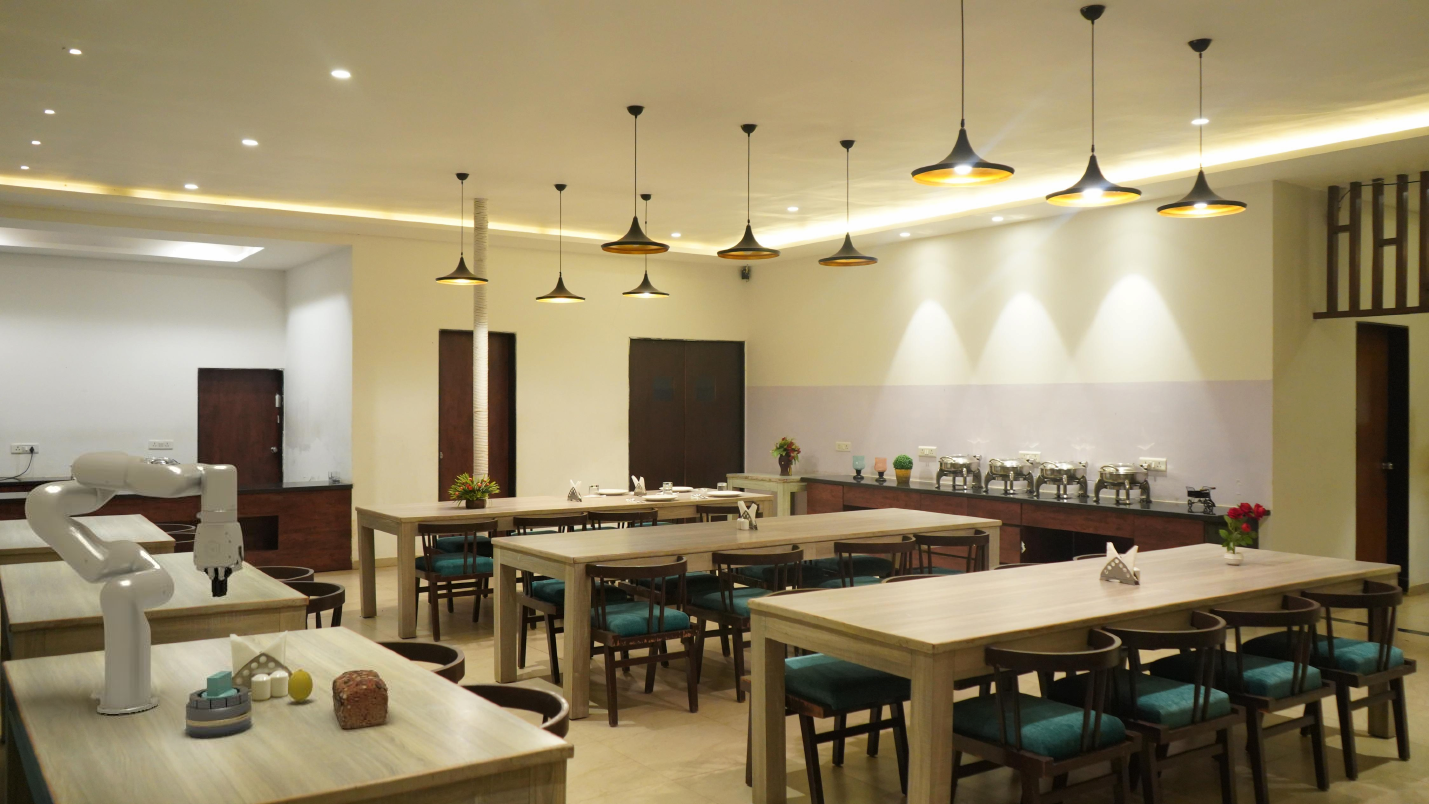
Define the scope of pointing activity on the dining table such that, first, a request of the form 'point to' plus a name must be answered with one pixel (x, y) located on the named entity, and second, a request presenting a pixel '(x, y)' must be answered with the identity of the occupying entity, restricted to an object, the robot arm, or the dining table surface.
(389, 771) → the dining table surface
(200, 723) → the lens barrel
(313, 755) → the dining table surface
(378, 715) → the bread
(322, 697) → the dining table surface
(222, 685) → the teal knob
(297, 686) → the lemon
